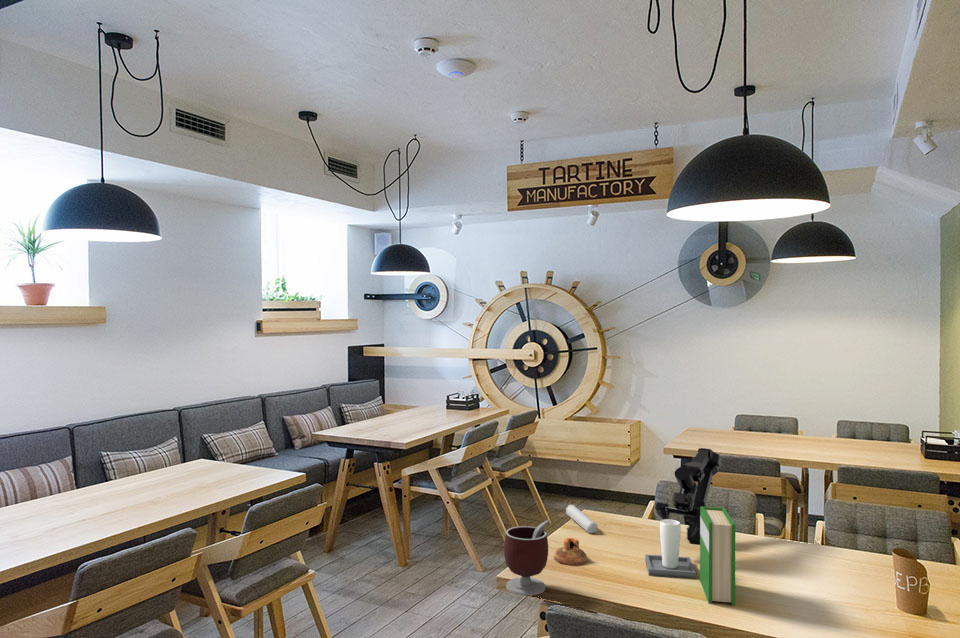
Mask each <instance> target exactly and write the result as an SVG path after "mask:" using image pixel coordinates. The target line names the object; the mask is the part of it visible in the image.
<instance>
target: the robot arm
mask: <svg viewBox="0 0 960 638" xmlns="http://www.w3.org/2000/svg"><path fill="white" fill-rule="evenodd" d="M693 457H694V458H692V461H690V462H686V463H685V464H682V465H681V466H680V467H677V469H675V471H674V478H675V480H676V482H677V485H678V486H679V491H678V492H673V493H672V503H673V506H674V507H671V506H669V504H668V503H667V502H663V501H657V502H655V506H654V509H655V511H656V514H657V515H658V516H659V517H660V518H661V519H662V520H664V519H670V514H673V515H681V516H683V521H684V525H685V526H687V527H686V539H687V541H688V542H689V544H693V543H694V545H696V544H697V545H700V506H702V507H707V506H706V503H707V500H708V497H709V496H708V495H709V492H710V488H711V484H712V480H713V476H715V475H716V474H717V473H719V470H720V468H721V467H722V457H721V456H720V454H718V453H716V452H714V451H713V449H711V448H706V447H705V448H704V447H699V448H698V450H697V453H696V455H695V456H693Z"/></svg>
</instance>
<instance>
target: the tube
mask: <svg viewBox="0 0 960 638" xmlns="http://www.w3.org/2000/svg"><path fill="white" fill-rule="evenodd" d="M565 514H566V515H567V516H568V517H570V518H571V519H572V520H573V521H574V522H576V524H578V526H580V527H581V528H582V529H583V530H584V531H585V532H587V533H589V534H590V533H591V534H595V533H597V531H598V524H597V523H596V522H595V521H593V520H592V519H591V518H590V517H588V516H587V515H586V514H585V513H584V512H582V510H580V509H579V508H578V507H577V506H576V505H574V504H568V506H567V507H566V508H565ZM574 518H575V519H574Z"/></svg>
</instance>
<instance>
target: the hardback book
mask: <svg viewBox="0 0 960 638" xmlns="http://www.w3.org/2000/svg"><path fill="white" fill-rule="evenodd" d="M699 582H700V585H701V587H702V590H703V592H704V595H705V597H706V600H707V603H708V604H709V605H712V604H713V602H720V603H730V605H731V606H732V607H735V606H736V523H735V521H734V520H733V519H732V517H731V515H730V514H729V512H728V511H727V510H726V509H725V507H717V506H716V507H714V506H706V507H702V506H700V544H699Z"/></svg>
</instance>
